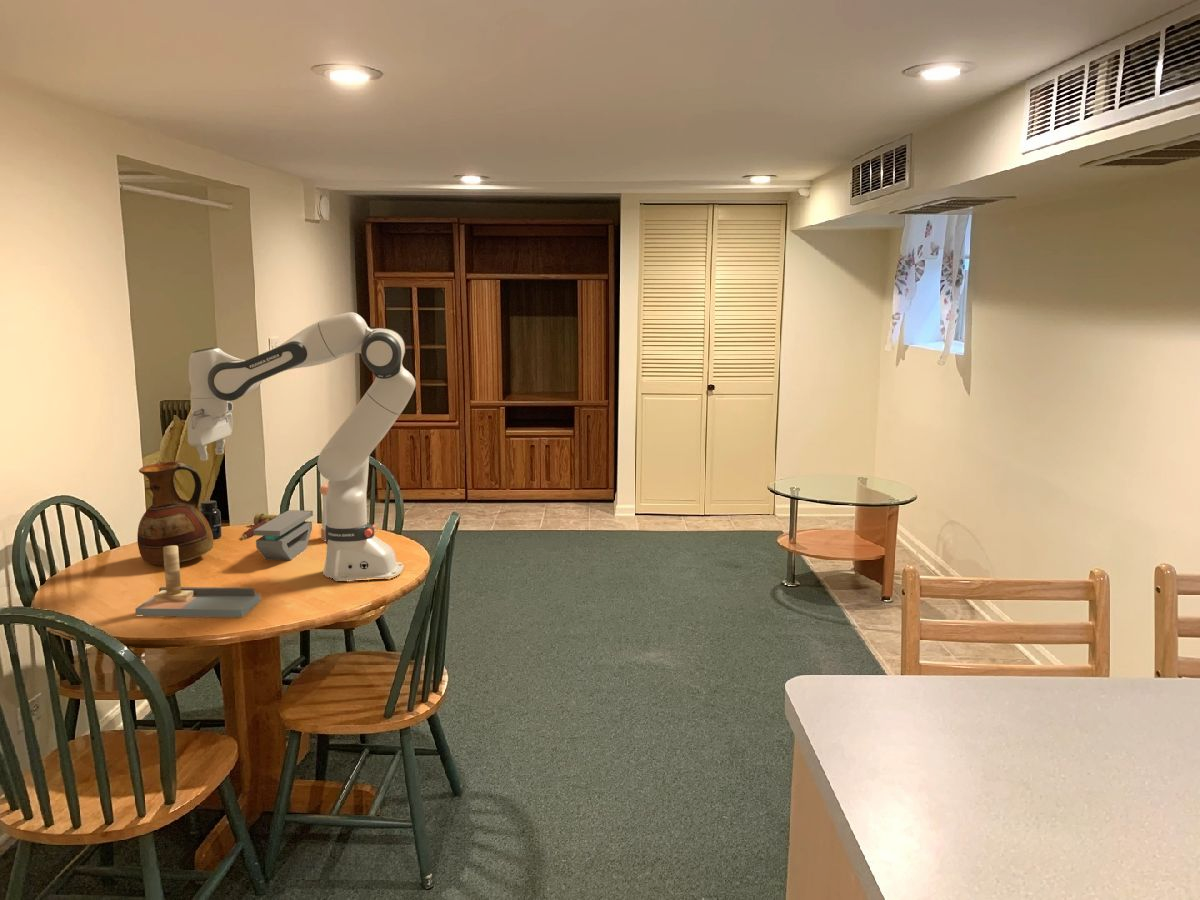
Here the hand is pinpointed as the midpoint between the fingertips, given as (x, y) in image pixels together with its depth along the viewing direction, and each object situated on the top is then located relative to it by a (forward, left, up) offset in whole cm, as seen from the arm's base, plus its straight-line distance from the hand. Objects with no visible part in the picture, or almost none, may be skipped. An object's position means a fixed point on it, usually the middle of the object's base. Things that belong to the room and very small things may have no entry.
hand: (212, 457), depth 241 cm
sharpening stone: (-11, -22, -34) cm, 42 cm away
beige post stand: (+1, +24, -32) cm, 40 cm away
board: (-6, +26, -34) cm, 43 cm away
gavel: (+7, -48, -35) cm, 60 cm away
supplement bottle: (+20, -40, -34) cm, 56 cm away
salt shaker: (-20, -40, -34) cm, 56 cm away
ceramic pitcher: (+19, -15, -34) cm, 42 cm away
